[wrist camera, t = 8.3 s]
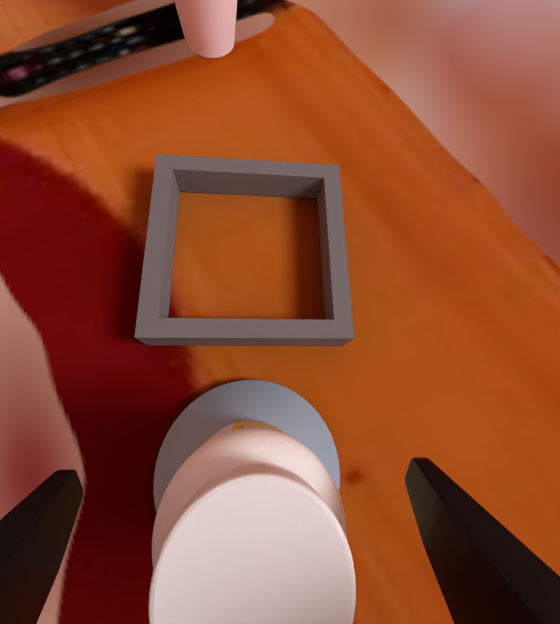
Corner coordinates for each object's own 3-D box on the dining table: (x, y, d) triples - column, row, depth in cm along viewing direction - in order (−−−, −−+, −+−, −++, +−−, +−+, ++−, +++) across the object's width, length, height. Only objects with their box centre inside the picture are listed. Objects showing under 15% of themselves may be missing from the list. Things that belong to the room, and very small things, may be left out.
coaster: (245, 629, 14) (245, 638, 13) (117, 474, 15) (112, 476, 15) (371, 469, 17) (375, 471, 16) (252, 347, 18) (252, 345, 17)
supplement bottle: (213, 567, 14) (148, 874, 5) (177, 446, 15) (70, 502, 6) (322, 512, 15) (441, 675, 6) (280, 403, 16) (322, 394, 7)
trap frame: (343, 345, 18) (354, 338, 16) (147, 345, 17) (134, 337, 15) (330, 186, 22) (339, 165, 20) (164, 177, 20) (156, 154, 19)
